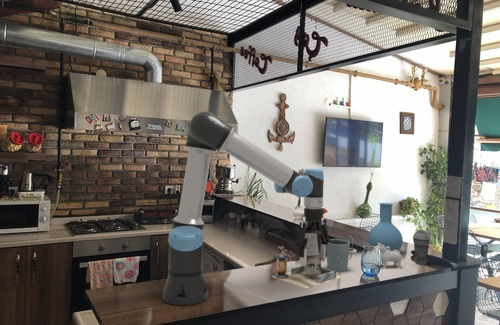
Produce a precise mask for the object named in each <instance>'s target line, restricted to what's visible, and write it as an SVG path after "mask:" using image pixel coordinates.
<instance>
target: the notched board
mask: <svg viewBox="0 0 500 325" xmlns="http://www.w3.org/2000/svg"><path fill="white" fill-rule="evenodd" d="M286 274H288V277H287V278H284V279H281V278H276V277H275V275H272V276H271V277H272V278H274V279H277V280H280V281H283V282H286V283H289V284H291V285H294V286H298V287H300V288H303V289H310V288H312V287H313V288H314V287H316V286H319V285H322V284H325V283H328V282H331V281H336V280H338V279H342V278H343V276H341V275H339V274H337V272H336V271H333V270H330V269H328V268H327V267H322V266H321V274H305V266H303V265H299V266H298V265H297V266H295V267H291V268H290V271H287V273H286Z"/></svg>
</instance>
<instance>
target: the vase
mask: <svg viewBox="0 0 500 325" xmlns="http://www.w3.org/2000/svg"><path fill="white" fill-rule="evenodd" d="M378 204H379V222H378V223H377V224H375V225H374V226H373V227H372V228H371V230H370V231H369V233H368V243H369V245H370V247H371V246H378V243H380V244H382V245H384V246H385V248H386V247H387V246H389V247H390V251H394V250H399V251H400V249H402V246H403V236H402V233H401V231H400V229H398V228H397V227H396V225H394V224H393V222H392V221H393V220H392V219H393V217H392V216H393V205H394V204H393V203H389V202H379V203H378ZM387 249H388V248H387Z"/></svg>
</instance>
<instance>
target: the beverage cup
mask: <svg viewBox="0 0 500 325" xmlns="http://www.w3.org/2000/svg"><path fill="white" fill-rule="evenodd" d="M418 226H419V227H418V229H419V230H416V231H415V232H414V233H413V236H412V241H413V246H414V247H413V249H414V251H413V252H414V261H415V262H414V263H415V264H416V265H417V266H426V265H427V261H428V254H429V245H430V240H431V238H430V235H429V233H428V232H427V231H425V230H423V229H422V228H421V220H420V219H419V220H418Z"/></svg>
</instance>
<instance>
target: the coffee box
mask: <svg viewBox="0 0 500 325" xmlns="http://www.w3.org/2000/svg"><path fill="white" fill-rule="evenodd" d="M306 238H307V245H306V247H305V249H307V254H306V266H305V274H321V267H322V261H321V231H320V230H316V231H313V232H311V233H308V232H305V236H304V239H306Z"/></svg>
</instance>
